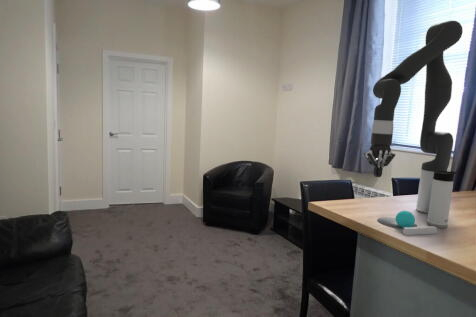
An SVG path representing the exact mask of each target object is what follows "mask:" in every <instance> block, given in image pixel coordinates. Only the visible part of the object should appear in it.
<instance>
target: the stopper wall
mask: <svg viewBox="0 0 476 317" xmlns="http://www.w3.org/2000/svg"><path fill="white" fill-rule="evenodd" d="M402 230H403V231H402V233H403V234H404V235H406V236H410V235H433V234H434V235H435V234H437V231H438V228H437V227H434V226H430V225H427V226H417V227H404V229H402Z"/></svg>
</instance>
